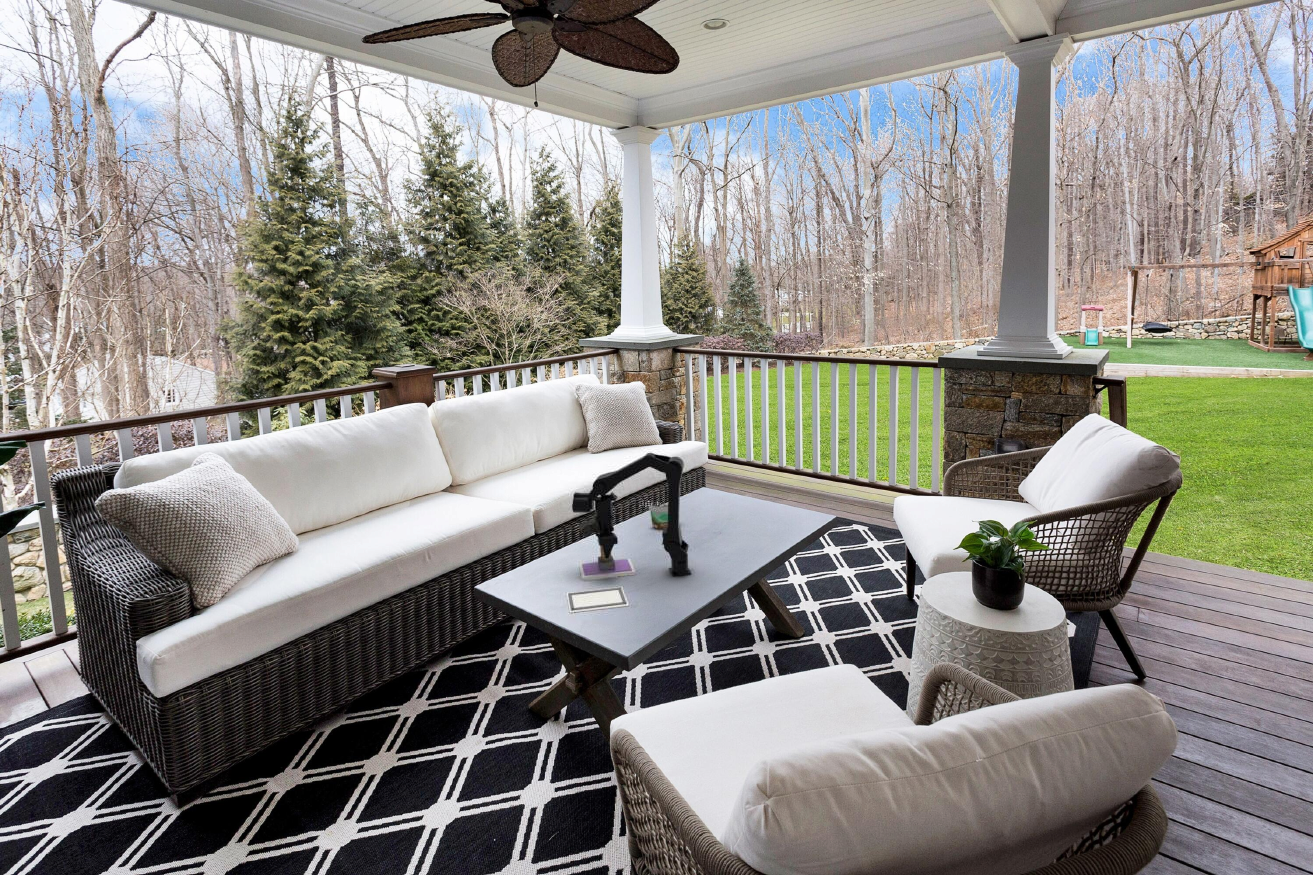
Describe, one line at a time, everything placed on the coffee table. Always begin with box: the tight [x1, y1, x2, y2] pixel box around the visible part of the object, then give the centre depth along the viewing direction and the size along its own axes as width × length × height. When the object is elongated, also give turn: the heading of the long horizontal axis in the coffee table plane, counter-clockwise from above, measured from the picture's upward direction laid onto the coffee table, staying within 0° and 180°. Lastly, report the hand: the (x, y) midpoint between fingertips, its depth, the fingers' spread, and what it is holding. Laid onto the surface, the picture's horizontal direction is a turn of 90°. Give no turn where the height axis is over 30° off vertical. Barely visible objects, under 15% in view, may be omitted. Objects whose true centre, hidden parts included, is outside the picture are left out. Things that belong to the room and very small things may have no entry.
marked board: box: [566, 586, 630, 614], centre depth 215 cm, size 14×18×1 cm
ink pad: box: [578, 558, 636, 582], centre depth 238 cm, size 12×18×2 cm, turn 101°
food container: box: [648, 503, 668, 531], centre depth 278 cm, size 12×6×10 cm, turn 112°
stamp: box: [597, 546, 615, 571], centre depth 236 cm, size 7×5×9 cm
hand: (606, 555), depth 237 cm, fingers closed on stamp, 4 cm apart
